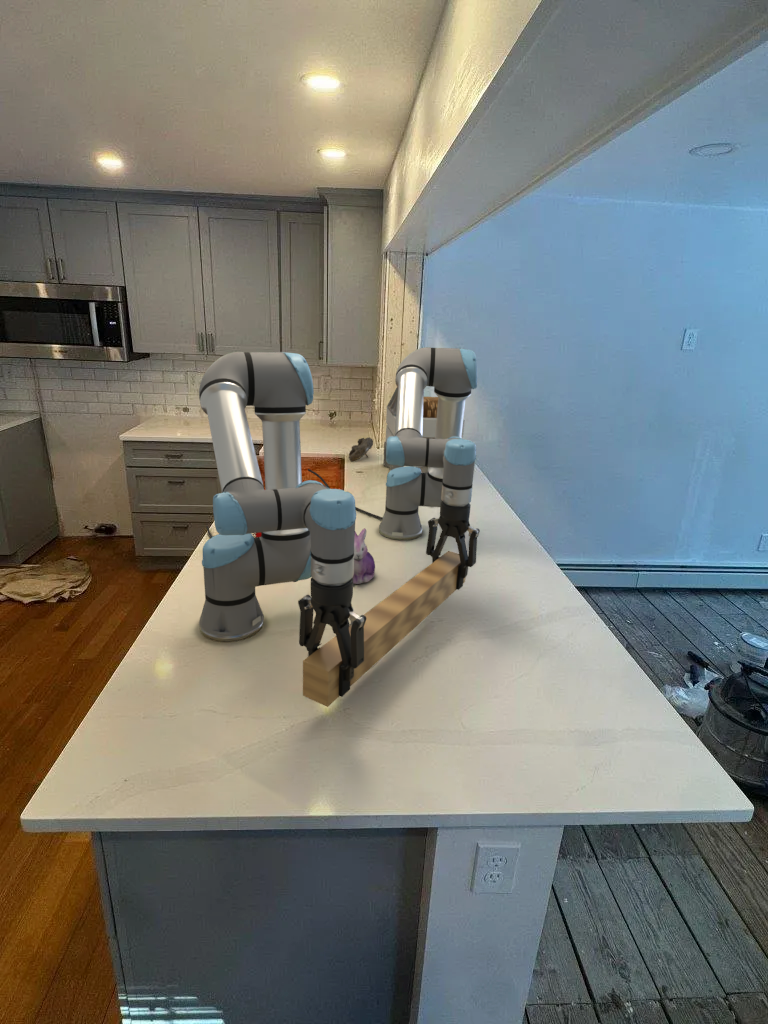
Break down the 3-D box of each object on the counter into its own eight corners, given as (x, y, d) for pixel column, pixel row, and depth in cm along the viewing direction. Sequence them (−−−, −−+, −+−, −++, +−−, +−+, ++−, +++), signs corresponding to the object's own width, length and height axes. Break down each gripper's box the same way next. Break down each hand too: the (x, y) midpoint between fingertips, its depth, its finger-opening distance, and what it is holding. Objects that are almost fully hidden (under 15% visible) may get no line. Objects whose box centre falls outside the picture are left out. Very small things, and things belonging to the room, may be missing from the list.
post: (445, 576, 156) (448, 550, 153) (465, 582, 153) (468, 556, 150) (302, 695, 106) (302, 660, 103) (327, 707, 103) (328, 671, 100)
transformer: (382, 463, 289) (386, 382, 275) (445, 464, 293) (451, 384, 279) (390, 482, 257) (394, 392, 243) (460, 483, 261) (468, 394, 247)
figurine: (352, 587, 160) (354, 538, 155) (338, 573, 168) (339, 526, 163) (382, 582, 164) (384, 534, 159) (367, 567, 172) (369, 521, 167)
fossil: (348, 443, 308) (370, 428, 303) (359, 457, 311) (381, 442, 306) (342, 457, 289) (365, 441, 284) (354, 472, 292) (377, 456, 287)
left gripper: (276, 570, 101) (279, 678, 109) (365, 601, 92) (360, 716, 100) (303, 556, 107) (304, 659, 115) (388, 584, 98) (382, 693, 106)
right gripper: (415, 498, 144) (410, 579, 152) (485, 514, 135) (475, 600, 143) (429, 490, 150) (423, 569, 158) (496, 505, 141) (486, 588, 149)
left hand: (330, 685), depth 108 cm, fingers closed on post, 6 cm apart
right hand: (448, 583), depth 150 cm, fingers closed on post, 6 cm apart
